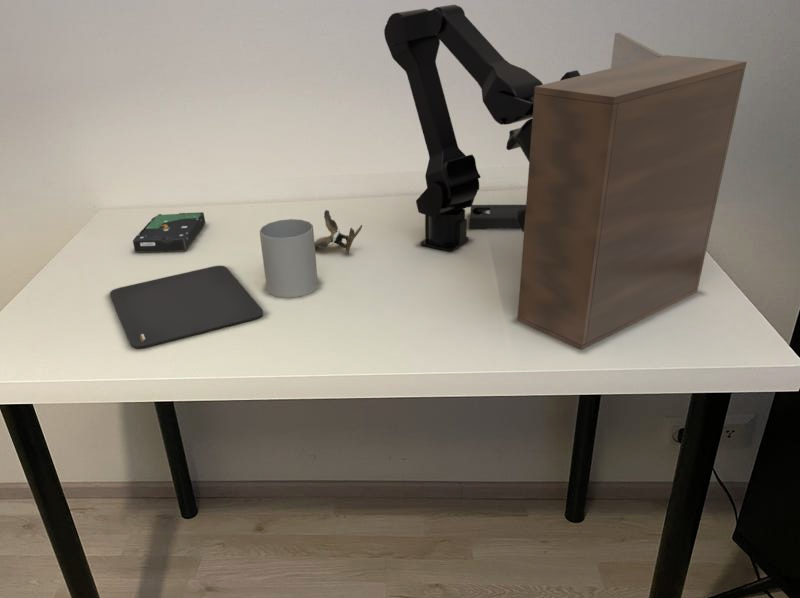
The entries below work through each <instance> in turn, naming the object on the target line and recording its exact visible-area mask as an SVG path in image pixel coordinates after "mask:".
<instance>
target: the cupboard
mask: <svg viewBox="0 0 800 598" xmlns="http://www.w3.org/2000/svg"><path fill="white" fill-rule="evenodd" d="M747 63H748V62H747V61H743V60H733V59H732V60H730V59H719V58H708V57H707V58H706V57H694V56H693V57H692V56H683V55H682V56H680V55H668V54H665V55H663V56H661V57H657V58H652V59H648V60H644V61H640V62H636V63H631V64H627V65H623V66H619V67H615V68H611V67H610V68H607V69H603V70H598V71H594V72H590V73H585V74H582V75H581V74H580V75H581V76H577V77H573V78H569V79H565V80H561V79H559V80H557V81H553V82H548V83H544V84H543V85H540V86H535V92H534V93H535V94H534V107H533V120H532V133H531V147H530V160H529V161H528V174H527V175H528V176H527V188H526V201H525V202H526V203H525V205H526V213H525V227H524V232H523V240H522V241H523V242H522V256H521V269H520V280H519V281H520V282H519V293H518V294H519V296H518V306H517V307H518V308H517V322H518V323H521V324H523V325H525V326H527V327H529V328H532V329H534V330H536V331H538V332H540V333H542V334H545V335H547V336H549V337H551V338H553V339H556V340H557V341H560V342H562V343H564V344H566V345H568V346H571V347H573V348H575V349H577V350H579V351H583V350H585V349H587V348H589V347H591V346H593V345H595V344H597V343H599V342H601V341H603V340H605V339H607V338H609V337H611V336H614V335H615V334H617V333H619V332H621V331H623V330H625V329H627V328H629V327H631V326H633V325H634V324H635V325H636V324H637V323H639V322H640V321H643V320H645V319H647V318H649V317H651V316H654V315H655V314H657V313H659V312H660V311H661V312H662V311H663V310H665V309H667V308H669V307H671V306H673V305H675V304H678V303H679V302H681V301H684V300H686V299H687V298H689V297H691V296H693V295H695V294H696V293H698V290H699V287H700V286H699V285H700V281H701V276H702V272H703V267H704V262H705V257H706V253H707V248H708V243H709V239H710V234H711V230H712V225H713V220H714V215H715V212H716V206H717V202H718V197H719V194H720V193H719V192H720V188H721V183H722V179H723V174H724V169H725V165H726V159H727V155H728V151H729V145H730V141H731V136H732V131H733V127H734V122H735V118H736V114H737V109H738V105H739V104H738V103H739V100H740V95H741V90H742V85H743V81H744V76H745V72H746V67H747Z"/></svg>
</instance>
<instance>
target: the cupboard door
mask: <svg viewBox="0 0 800 598" xmlns="http://www.w3.org/2000/svg"><path fill="white" fill-rule="evenodd" d="M612 46H613V47H612V55H611V62H610V69H611V68H615V67H619V66H623V65H627V64H631V63H636V62H640V61H644V60H648V59H652V58H657V57H661V56H664V55H663V54H661V53H660V52H658V51H656V50H654V49H652V48H650V47H648V46H646V45H644V44H642V43H641V42H638V41H636V40H634V39H632V38H631V37H629V36H627V35H625V34H623V33H621V32H615V33H614V39H613V45H612Z"/></svg>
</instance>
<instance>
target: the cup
mask: <svg viewBox="0 0 800 598" xmlns="http://www.w3.org/2000/svg"><path fill="white" fill-rule="evenodd" d="M259 238H260V246H261V254H262V262H263V269H264V270H263V271H264V279H265V287H266V291H267V292H268V293H269V295H271V296H274V297H277V298H286V299H290V298H292V299H293V298H299V297H303V296H306V295H309V294H312V292H314V291H315V290H317V289H318V288H317V287H318V286H319V279H318V267H317V257H316V247H315V243H314V242H315V232H314V225H313V224H312V223H311V222H310V221H308V220H305V219H304V220H303V219H297V218H296V219H293V218H290V219H289V218H288V219H279V220H276V221H272V222H268V223H266V224H265V225H263V226H261V228H260V229H259Z"/></svg>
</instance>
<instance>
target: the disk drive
mask: <svg viewBox="0 0 800 598" xmlns="http://www.w3.org/2000/svg"><path fill="white" fill-rule="evenodd" d="M205 224H206V219H205V213H204V212H201V211H200V212H179V213H171V214H169V213H168V214H162V213H158V214H157V215H155V216H153V217H152V218H151V220H150V221H149V222H147V224H146V225H145V226H144V227H143V228H142V229H141V230H140V231H139V233H137V235H136V236H135V237H134V238H133V239H132V244H133V249H134V252H139V253H160V252H161V253H162V252H180V251H181V252H183V251H187V250H188V249H189V248H190V246H191V244H192V243H193V242H194V240H196V238H197V236H198V235H199V233H200V232H201V231H202V229H203V228H204V226H205Z"/></svg>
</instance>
